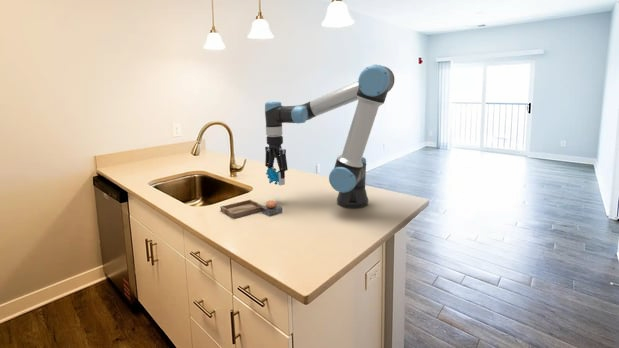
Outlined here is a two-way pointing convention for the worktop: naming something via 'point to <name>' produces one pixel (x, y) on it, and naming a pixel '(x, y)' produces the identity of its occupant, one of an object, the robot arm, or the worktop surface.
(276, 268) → the worktop surface
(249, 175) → the worktop surface
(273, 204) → the button
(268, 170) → the gear
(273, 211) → the block
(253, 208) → the brown tray
